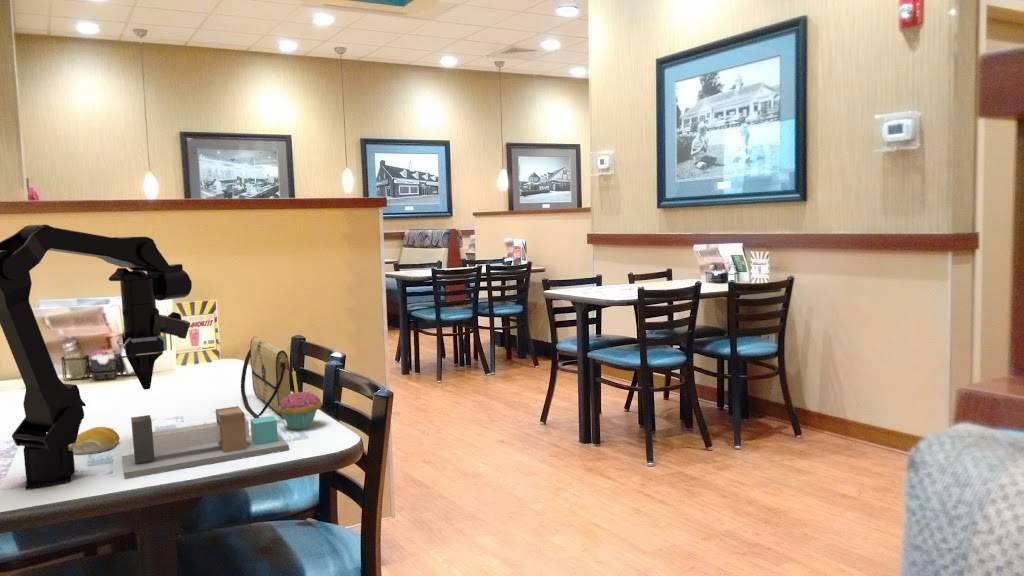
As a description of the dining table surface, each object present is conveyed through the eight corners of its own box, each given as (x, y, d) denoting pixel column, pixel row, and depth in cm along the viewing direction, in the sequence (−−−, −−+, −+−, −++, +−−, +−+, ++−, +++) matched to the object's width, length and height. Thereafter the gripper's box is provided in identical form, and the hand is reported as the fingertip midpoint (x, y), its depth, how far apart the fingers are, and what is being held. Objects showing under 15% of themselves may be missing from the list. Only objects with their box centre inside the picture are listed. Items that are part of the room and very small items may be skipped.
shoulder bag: (234, 399, 182) (230, 338, 181) (263, 394, 186) (260, 335, 185) (261, 425, 157) (257, 354, 156) (295, 419, 160) (291, 350, 159)
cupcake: (272, 427, 155) (268, 369, 154) (309, 418, 161) (305, 363, 160) (292, 434, 149) (289, 375, 148) (330, 425, 155) (327, 368, 154)
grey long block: (135, 463, 129) (132, 422, 128) (134, 457, 133) (131, 417, 132) (250, 444, 138) (247, 405, 138) (246, 439, 142) (243, 401, 141)
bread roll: (123, 440, 150) (122, 420, 149) (110, 453, 141) (108, 432, 141) (78, 444, 148) (76, 424, 148) (62, 457, 139) (60, 436, 139)
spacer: (254, 423, 138) (276, 420, 140) (250, 419, 142) (272, 415, 144) (255, 444, 139) (277, 441, 141) (251, 439, 142) (273, 436, 144)
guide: (124, 478, 125) (121, 434, 125) (122, 461, 135) (119, 420, 134) (288, 449, 138) (286, 410, 138) (276, 436, 148) (273, 398, 147)
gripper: (190, 303, 137) (196, 387, 139) (180, 296, 153) (185, 371, 155) (122, 309, 132) (129, 396, 133) (118, 301, 148) (125, 379, 149)
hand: (145, 384), depth 143 cm, fingers open, 9 cm apart
